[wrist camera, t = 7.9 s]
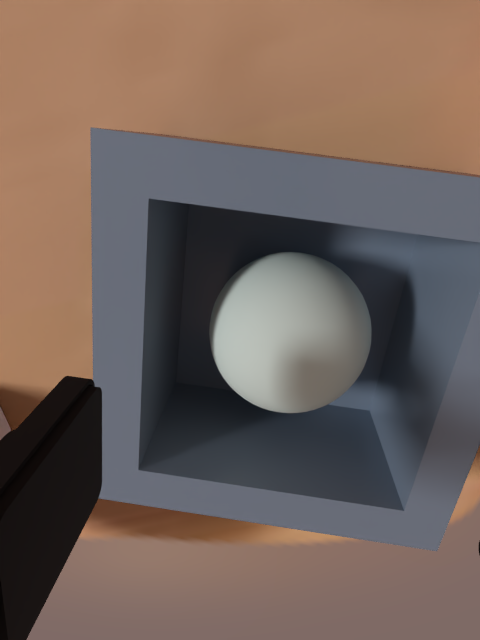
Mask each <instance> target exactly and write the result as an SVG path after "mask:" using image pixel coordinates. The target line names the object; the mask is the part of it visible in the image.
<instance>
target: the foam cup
mask: <svg viewBox="0 0 480 640" xmlns="http://www.w3.org/2000/svg"><path fill="white" fill-rule="evenodd" d="M10 431H11V428H10V426H9V424H8V422H7V420H6V418H5V416H4V413H3V411H2V409H1V407H0V440H1V439H2V438H3V437H4V436H5V435H6V434H7V433H8V432H10Z"/></svg>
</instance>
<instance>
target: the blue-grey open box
mask: <svg viewBox="0 0 480 640" xmlns="http://www.w3.org/2000/svg"><path fill="white" fill-rule="evenodd" d="M91 217H92V314H93V381H94V384H95V387H100V388H101V390H102V487H101V492H100V495H99V499H105V500H112V501H118V502H124V503H131V504H137V505H144V506H150V507H157V508H163V509H169V510H176V511H182V512H189V513H195V514H201V515H208V516H214V517H221V518H227V519H233V520H240V521H246V522H253V523H259V524H265V525H272V526H278V527H285V528H291V529H298V530H304V531H310V532H317V533H323V534H330V535H336V536H342V537H349V538H355V539H362V540H368V541H374V542H381V543H388V544H394V545H400V546H406V547H414V548H419V549H426V550H432V551H437V550H438V548H439V545H440V543H441V540H442V538H443V535H444V533H445V530H446V528H447V525H448V523H449V520H450V518H451V515H452V513H453V510H454V508H455V505H456V503H457V500H458V498H459V495H460V493H461V490H462V488H463V485H464V483H465V480H466V478H467V475H468V473H469V470H470V468H471V465H472V463H473V461H474V458H475V456H476V453H477V451H478V448H479V446H480V175H474V174H467V173H459V172H451V171H443V170H435V169H428V168H420V167H412V166H404V165H397V164H389V163H381V162H373V161H365V160H358V159H350V158H342V157H334V156H327V155H319V154H311V153H303V152H295V151H288V150H280V149H272V148H264V147H257V146H249V145H241V144H233V143H225V142H218V141H210V140H202V139H194V138H187V137H179V136H171V135H163V134H154V133H144V132H133V131H123V130H112V129H102V128H91ZM280 252H300V253H306V254H310V255H314V256H317V257H319V258H322V259H324V260H326V261H328V262H330V263H332V264H334V265H335V266H337V267H338V268H340V269H341V270H342V271H343V272H344V273H345V274H347V275H348V276H349V278H350V279H351V280H352V281H353V282H354V284H355V285H356V286H357V287H358V289H359V291H360V292H361V294H362V295H363V298H364V300H365V302H366V305H367V308H368V311H369V315H370V319H371V328H372V331H371V346H370V351H369V355H368V358H367V361H366V363H365V366H364V368H363V370H362V372H361V374H360V375H359V377H358V378H357V380H356V381H355V382H354V383H353V385H352V386H351V387H350V388H349V389H348V390H347V391H346V392H345V393H344V394H343V395H341V396H340V397H339V398H337V399H336V400H334V401H333V402H331V403H329V404H327V405H325V406H323V407H321V408H318V409H315V410H311V411H307V412H300V413H281V412H275V411H270V410H267V409H263V408H260V407H258V406H256V405H254V404H252V403H250V402H249V401H247V400H245V399H244V398H243V397H241V396H240V395H239V394H238V393H236V392H235V391H234V390H233V389H232V388H231V387H230V386H229V385H228V383H227V382H226V381H225V379H224V378H223V376H222V375H221V373H220V371H219V370H218V368H217V365H216V363H215V360H214V358H213V355H212V351H211V345H210V337H209V327H210V320H211V314H212V310H213V307H214V304H215V301H216V299H217V297H218V295H219V293H220V292H221V290H222V289H223V287H224V286H225V284H226V283H227V281H228V280H229V279H230V278H231V277H232V276H233V275H234V274H235V273H236V272H237V271H239V270H240V269H241V268H242V267H244V266H245V265H247V264H249V263H250V262H252V261H254V260H256V259H258V258H261V257H264V256H267V255H270V254H275V253H280Z"/></svg>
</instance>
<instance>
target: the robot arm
mask: <svg viewBox="0 0 480 640" xmlns="http://www.w3.org/2000/svg"><path fill="white" fill-rule="evenodd" d="M101 487H102V390H101V388H100V387H95V384H94V381H93V380H92V379H85V378H78V377H71V376H66V377H64V378H63V379H62V380H61V381H60V382H59V383H58V384H57V386H56V387H55V388H54V389H53V390H52V391H51V392H50V393H49V394H48V395H47V396H46V397H45V399H44V400H43V401H42V402H41V403H40V404H39V405H38V406H37V407H36V408H35V409H34V410H33V412H32V413H31V414H30V415H29V416H28V417H27V418H26V419H25V420H24V421H23V422H22V423H21V425H20V426H19V427H18V428H17V429H16V430H13V431H10V432H8V433H7V434H6V435H5V436H4V437H3V438H2V439H1V440H0V640H26V639H27V637H28V635H29V633H30V631H31V629H32V627H33V625H34V623H35V621H36V619H37V617H38V616H39V614H40V611H41V609H42V608H43V606H44V604H45V602H46V600H47V598H48V596H49V594H50V592H51V590H52V588H53V586H54V584H55V582H56V580H57V578H58V576H59V574H60V572H61V571H62V569H63V567H64V565H65V563H66V561H67V559H68V557H69V555H70V553H71V551H72V549H73V547H74V545H75V543H76V541H77V539H78V537H79V535H80V533H81V531H82V529H83V527H84V526H85V524H86V522H87V520H88V518H89V516H90V514H91V512H92V510H93V508H94V506H95V504H96V502H97V500H98V498H99V495H100V492H101ZM479 554H480V542H479Z"/></svg>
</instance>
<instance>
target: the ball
mask: <svg viewBox="0 0 480 640" xmlns="http://www.w3.org/2000/svg"><path fill="white" fill-rule="evenodd" d="M371 331H372V328H371V319H370V315H369V311H368V308H367V305H366V302H365V300H364V298H363V295H362V294H361V292H360V291H359V289H358V287H357V286H356V285H355V284H354V282H353V281H352V280H351V279H350V278H349V276H348V275H347V274H345V273H344V272H343V271H342V270H341V269H340V268H338V267H337V266H335V265H334V264H332V263H330V262H328V261H326V260H324V259H322V258H319V257H317V256H314V255H310V254H306V253H300V252H280V253H275V254H270V255H267V256H264V257H261V258H258V259H256V260H254V261H252V262H250V263H249V264H247V265H245V266H244V267H242V268H241V269H240V270H239V271H237V272H236V273H235V274H234V275H233V276H232V277H231V278H230V279H229V280H228V281H227V283H226V284H225V286H224V287H223V289H222V290H221V292H220V293H219V295H218V297H217V299H216V301H215V304H214V307H213V310H212V314H211V320H210V327H209V337H210V345H211V351H212V355H213V358H214V360H215V363H216V365H217V368H218V370H219V371H220V373H221V375H222V376H223V378H224V379H225V381H226V382H227V383H228V385H229V386H230V387H231V388H232V389H233V390H234V391H235V392H236V393H238V394H239V395H240V396H241V397H243V398H244V399H245V400H247V401H249V402H250V403H252V404H254V405H256V406H258V407H260V408H263V409H267V410H270V411H275V412H281V413H300V412H307V411H311V410H315V409H318V408H321V407H323V406H325V405H327V404H329V403H331V402H333V401H334V400H336V399H337V398H339V397H340V396H341V395H343V394H344V393H345V392H346V391H347V390H348V389H349V388H350V387H351V386H352V385H353V383H354V382H355V381H356V380H357V378H358V377H359V375H360V374H361V372H362V370H363V368H364V366H365V363H366V361H367V358H368V355H369V351H370V346H371Z"/></svg>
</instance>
